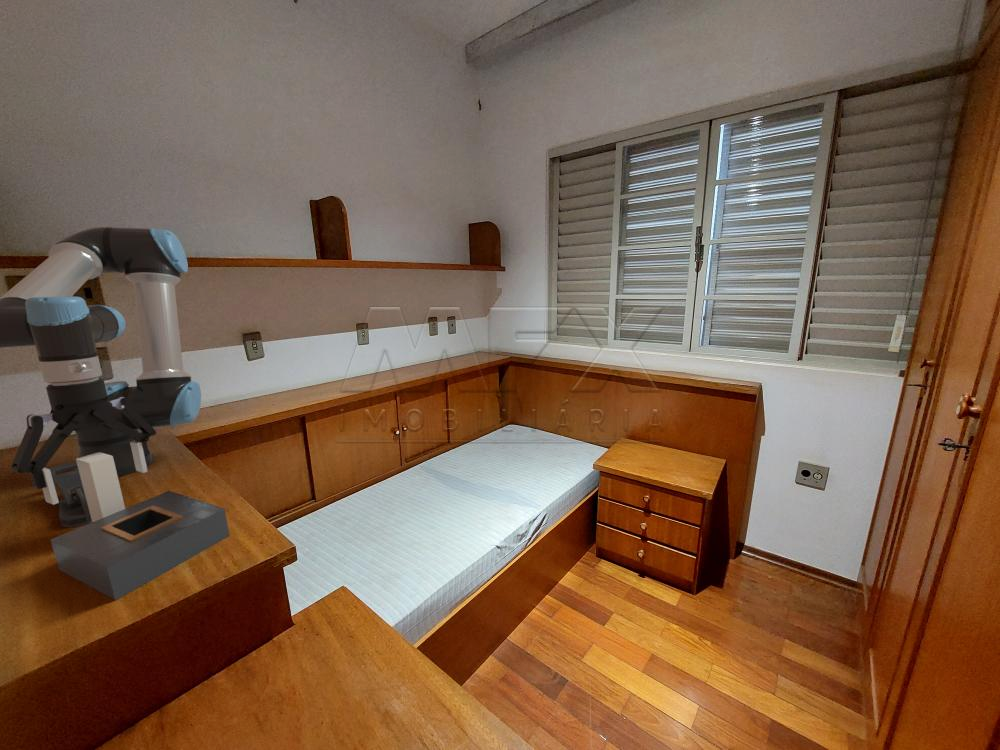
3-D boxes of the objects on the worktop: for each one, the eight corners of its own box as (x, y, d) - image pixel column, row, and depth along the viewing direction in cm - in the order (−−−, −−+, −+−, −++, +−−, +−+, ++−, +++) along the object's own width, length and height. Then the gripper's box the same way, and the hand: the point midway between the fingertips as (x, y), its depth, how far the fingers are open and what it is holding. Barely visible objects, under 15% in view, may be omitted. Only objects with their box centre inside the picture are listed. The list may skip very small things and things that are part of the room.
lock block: (59, 569, 70) (49, 538, 68) (174, 516, 86) (168, 489, 85) (115, 600, 63) (106, 565, 62) (229, 535, 79) (224, 507, 78)
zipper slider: (93, 456, 101) (116, 484, 86) (99, 480, 102) (123, 512, 88) (40, 469, 94) (56, 502, 79) (47, 494, 96) (64, 532, 81)
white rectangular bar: (94, 532, 81) (75, 458, 77) (116, 522, 84) (99, 451, 80) (108, 538, 79) (89, 463, 75) (130, 528, 82) (112, 455, 78)
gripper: (-22, 400, 62) (15, 523, 66) (164, 369, 84) (182, 463, 88) (-41, 395, 64) (-4, 513, 69) (143, 367, 87) (162, 458, 91)
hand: (100, 485), depth 79 cm, fingers open, 13 cm apart
